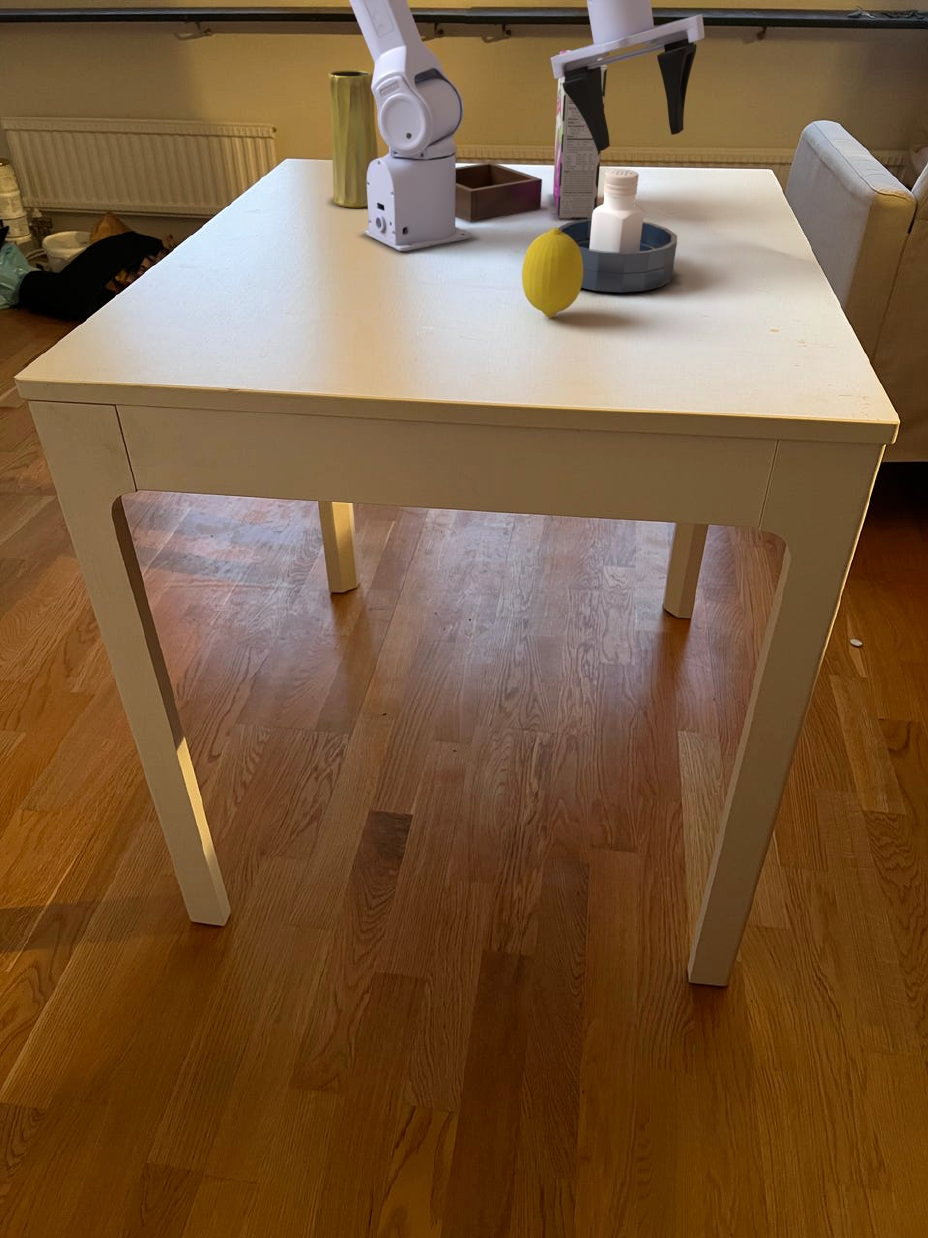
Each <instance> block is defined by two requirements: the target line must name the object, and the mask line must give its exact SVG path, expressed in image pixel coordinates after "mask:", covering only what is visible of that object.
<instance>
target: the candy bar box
mask: <svg viewBox="0 0 928 1238" xmlns="http://www.w3.org/2000/svg"><path fill="white" fill-rule="evenodd" d="M569 51H572V49H568V50H561V51H559V54H562V53H566V52H569ZM602 59H604V58H601V59H598V60H597V61H599V60H602ZM599 67H600V66H599ZM607 74H608V65H603V66H601V78H602V96H603V106H604V107H605V103H606V101H605V100H606V88H607V87H606V85H607V76H608V75H607ZM564 82H565V77H561V78H557V98H556V99H557V101H556V119H555V121H556V123H555V143H554V164H553V186H552V187H553V189H552V195H553V196H552V197H553V201H554V207H555V211H556V216H557V219H559V220H564V221H565V220H568V221H569V220H572V221H573V220H575V221H579V220H584V219H592V213H593V211H594V209H596V208H597V207H598V197H599V195H598V194H599V193H598V192H599V182H600V181H599V180H600V168H601V167H600V166H601V159H602V158H601V157H602V156H601V155H602V151H597V148H596V146H595V143H594V140H593V138H592V135H591V133H590V131H589V129H588V126H587V124H586V122H585V120H584V119H583V117H582V115H581V113H580V112H579V110H578V109H577V107H576V106H575V104H574V103H573V101H572V100H571V99H570V97H569V96H568V95H567V94H566V92H565V91H564V89H563V86H562V83H564Z"/></svg>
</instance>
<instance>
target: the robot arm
mask: <svg viewBox="0 0 928 1238" xmlns="http://www.w3.org/2000/svg"><path fill="white" fill-rule="evenodd" d="M348 1H349V4H350V6H351V8H352V11H353V13H354V16H355V18H356V20H357V21H356V22H357V23H358V26H359V28H360V30H361V33H362V35H363V38H364V40H365V43H366V46H367V48H368V50H369V53H370V55H371V58H372V61H373V63H374V69H373V73H372V74H373V79H372V86H371V89H372V92H373V95H374V101H375V103H376V108H377V125H378V130H379V133H380V136H381V138H382V139H383V141H384V143H385V144H386V145H387V146H388V151H389V152H388V153H386V154H385V155H384V156H382V157H378V159H375V160H373V161H372V162H371V163H370V165H369V167H368V171H367V201H368V207H367V217H368V218H367V219H368V229H366V230H365V235H366V236H368V237H370V238H373V239H374V240H376V241H378V242H381V243H383V244H384V245H387V246H388V247H391V248H393V249H395V250H397V251H399V252H407V251H412V250H417V249H422V248H428V247H432V246H437V245H442V244H447V243H453V242H457V241H462V240H467V239H471V238H472V234H471V232H468V231H466V230H463V229H461V228H459V227H457V226H456V216H455V176H456V168H457V167H456V165H457V164H456V157H457V155H456V154H457V153H456V148H457V147H456V143H455V140H454V139H455V138H454V137H455V136H454V135H455V134H456V133H457V131H458V130H459V129H460V128H461V126H462V123H463V119H464V115H465V103H464V99H463V96H462V94H461V92H460V90H459V88H458V87H457V85H456V84H455V83H454V82H453V81H452V80H451V79H450V78H449V77H448V76H447V74H446V73H445V71H444V69H443V66H442V63H441V61H440V59H439V58H438V56H436V54H435V53H434V52H433V51H432V50H431V49H430V48H429V47H428V46H427V45H426V44H425V43H424V41H423V40H422V38H421V34H420V32H419V30H418V27H417V24H416V22H415V18H414V17H413V13H412V11H411V8H410V6H409V3H408V1H407V0H348ZM586 5H587V11H588V17H589V22H590V29H591V34H592V41H593V44H590V45H586V46H583V47H580V48H576V49H573V50H572V49H571V50H572V51H569V52H566V53H562V54H560V53H559V54H556V55H554V56H550V62H551V67H552V73H553V78H554V79H555V80H558V78H561V77H565V82H564V83H562V86H563V89H564V91H565V92H566V94H567V95H568V96H569V97H570V99H571V100H572V101H573V103H574V104H575V106H576V107H577V109H578V110H579V112H580V113H581V115H582V117H583V119H584V120H585V122H586V124H587V126H588V129H589V131H590V133H591V135H592V138H593V140H594V143H595V146H596V148H597V151H601V152H602V151H605V150H606V149H607V148H609V147H610V146H611V145H610V134H609V128H608V123H607V118H606V113H605V105H604V106H603V96H602V78H601V66H603V65H606V66H608V65H610V64H614V63H617V62H622V61H625V60H629V59H632V58H633V59H634V58H637V57H639V56H643V55H648V54H651V53H655V52H659V51H662V50H664V51H663V52H661V53H659V54H657V55H656V57H657V63H658V66H659V70H660V74H661V77H662V82H663V87H664V91H665V97H666V105H667V106H666V107H667V116H668V126H669V130H670V134H671V136H673V135H678V134H680V133H681V132H682V131H684V129H685V128H684V118H685V117H684V115H685V103H686V96H687V90H688V84H689V80H690V75H691V71H692V67H693V64H694V61H695V57H696V55H697V47H698V46H697V44H696V43H694V42H698V41H701V40H702V39H705V28H704V18H703V14H702V13H701V14H697V15H693V16H689V17H686V18H682V19H678V20H674V21H671V22H667V23H663V24H659V25H654V23H655V22H654V17H653V8H652V3H651V0H586ZM639 44H642V47H643V48H639V49H635V50H632V51H628V52H624V53H621V54H618V55H613V56H610V53H612V52H616V51H620V50H623V49H627V48H631V47H633V46H636V45H639ZM607 56H609V57H607ZM605 57H606V58H605ZM601 58H603V59H602V60H599V61H597V60H598V59H601ZM599 66H600V67H599Z"/></svg>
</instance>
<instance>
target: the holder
mask: <svg viewBox="0 0 928 1238" xmlns="http://www.w3.org/2000/svg"><path fill="white" fill-rule="evenodd" d="M542 190H543V179H542V178H540V177H537V176H534V175H531V174H528V173H525V172H522V171H519V170H516V169H512V168H510V167H507V166H504V165H501V164H498V163H495V162H493V161H490V162H483V163H478V164H470V165H464V166H457V167H456V176H455V217H457V218H459V219H461V220H464V221H466V222H469V223H475V222H476V223H477V222H480V221H485V220H492V219H496V218H501V217H506V216H507V217H508V216H512V215H516V214H523V213H527V212H532V211H538V210H541V207H542Z"/></svg>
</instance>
